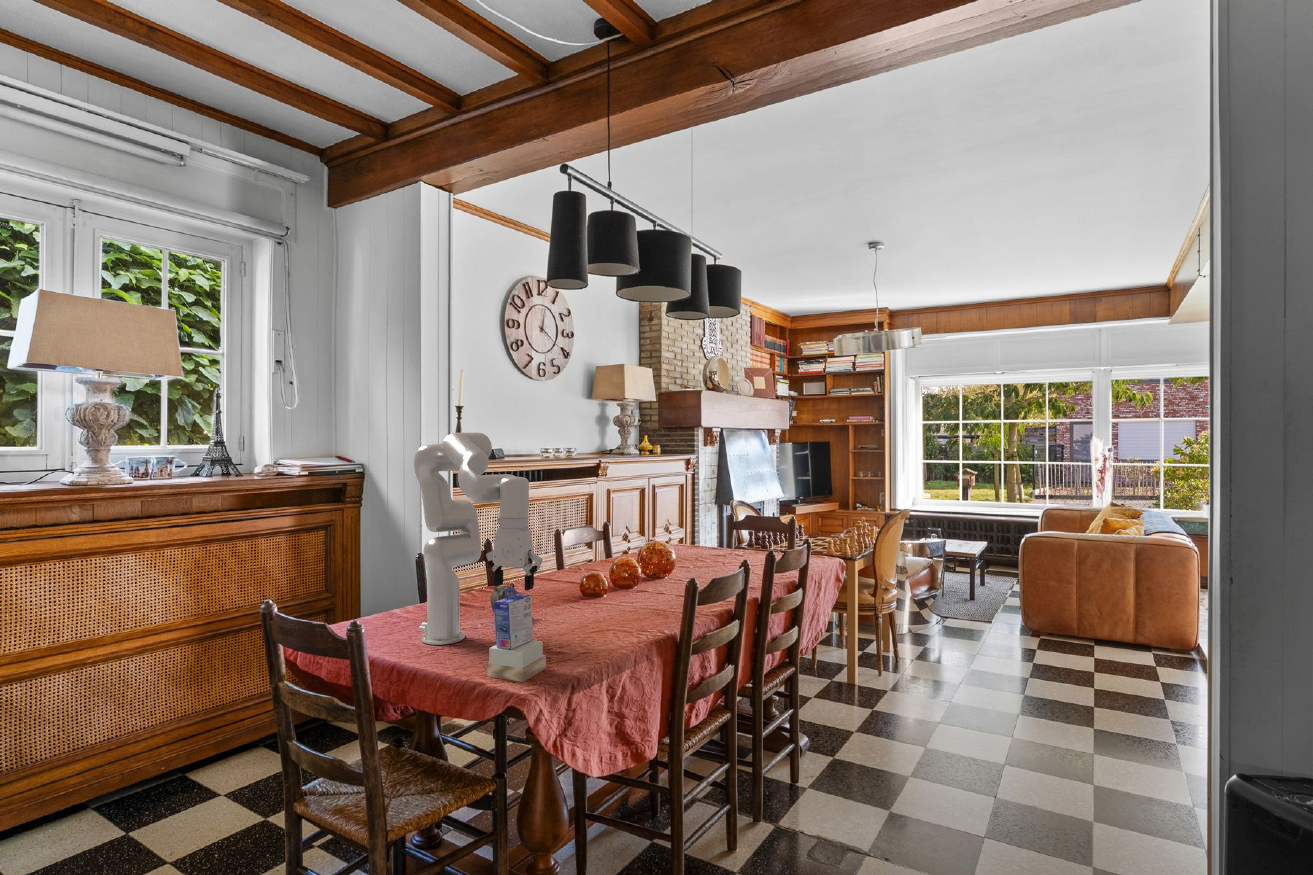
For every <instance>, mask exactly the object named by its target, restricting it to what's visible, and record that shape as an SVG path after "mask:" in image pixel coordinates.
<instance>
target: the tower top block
mask: <svg viewBox="0 0 1313 875" xmlns="http://www.w3.org/2000/svg"><path fill="white" fill-rule="evenodd" d="M543 644H544V642H543V641H540V640H534V639H533V640H531V641H528V642H526V643H524V644H522V645H519V646H517V647H515V648H513V649H504V648H497V646H496V644H495V645H493V646H491V647H489V648H488V649H489V650H488V651H489V654H488V662H489V663H490V664H497V665H504V666H511V667H518V668H524V667H525V666H527V665H529V664H530V663H532V662H534V661H536V660H537V659H539V658H541V657H543V655H544V653H543V651H544V650H543V649H544V648H543Z"/></svg>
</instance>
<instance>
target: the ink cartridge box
mask: <svg viewBox="0 0 1313 875" xmlns="http://www.w3.org/2000/svg"><path fill="white" fill-rule="evenodd" d="M509 591H512V592H513V593H512V594H509V595H508V594H507V592H509ZM504 593H505V595H506V597H507V598H504V599H501V600H499V601H496V602H494V612H493V613H494V623H495V624H494V625H495V627H494V628H495V645H496V646H497V648H504V649H513V648H515V647H517V646H519V645H522V644H524V643H526V642H528V641H531V640H534V630H533V629H534V628H533V611H532V595H531V594H524V593H523V594H522V593H519V594H515V592H514V590H513V588H509V589H506V590H504Z"/></svg>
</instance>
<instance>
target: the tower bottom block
mask: <svg viewBox="0 0 1313 875" xmlns="http://www.w3.org/2000/svg"><path fill="white" fill-rule="evenodd" d="M546 656H547V655H545V654H543V657H541V658H539V659H537V660H536V661H534V662H532V663H530V664H529V665H527V666H525V667H524V668H518V667H511V666H504V665H497V664H490V663H489V661H488V662H487V664H486V665H487V668H486V672H487V673H486V674H487V675H486V676H487V677H490V678H494V679H502V680H507V681H508V680H510V681H514V682H515V681H516V682H519V683H520V682H521V683H523V682H527V680H529V679H532V678H533V677H534V676H536V675H538V674H539V673H541V672H543V671H544V670H546V669H547V657H546Z"/></svg>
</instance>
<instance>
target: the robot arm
mask: <svg viewBox="0 0 1313 875" xmlns="http://www.w3.org/2000/svg"><path fill="white" fill-rule="evenodd" d="M492 446H493V445H492V441H491V439H490V438H489V437H488V435H486V434H485V433H482V432H452V433H451V434H448V435H446V437H444V438H443V440H442V442H441V443H433V444H426V445H422V446H420V447H419V448H418V449H417V450H416V452H415V454H414V459H413V467H414V473H415V475H416V476H415V477H416V479H417V481H418V483H419V486H420V489H421V490H420V491H421V498H422V505H423V506H422V507H423V515H424V522H425V526H426V529H428V531H429V532H432V533H444V532H453V531H454V532H456V531H458V532H459V534H450V535H441V536H435V537H433V538H431V539H429V540H428V541H427V542H425V544H424V547H423V558H424V563H425V570H426V592H427V593H426V598H427V600H426V601H427V602H426V608H427V609H426V610H427V611H426V615H427V617H426V618H427V619H426V620H427V621H426V622H425V621H424V622H422V623H421V624H420V625H419V627H418V631H424V634H423V635H422V637H421V642H422V643H424V644H427V645H433V646H440V645H441V646H442V645H449V644H450V645H451V644H456V643H458V642H460V641H463V640H464V639H465V636H466V633H465V631H463V630H460V628H461V627H460V626H461V624H460V621H461V620H460V617H461V616H460V615H461V614H460V611H461V610H460V609H461V608H460V601H461V600H460V599H461V598H460V592H461V591H460V579H459V577H458V575H457V574H456V573H455V571H454V570H453V567H458V566H463V565H471V564H474V563H476V562H478V561H479V560H480V558H481V555H482V542H481V533H480V526H479V519H478V511H477V510H476V506H475V505H474V504H473V503H476V504H488V503H489V504H490V503H499V517H498V518H496V523H498V524H499V527H498V528H497V529H496V532H495V536H494V544H493V550H491V551H489V552H487V553H486V554H485V556H486V559H487V561H488V565H489V566H490V568H491V571H492V572H493V587H494V586H495V587H497V588H498V587H501V586H502V585H504V570H503V568H504V567H505V568H513V569H523V571H524V572H525V575H524V591H530V590H533V589H534V586H535V574H536V573H537V571H538V570H540V568H541V565H542V564H543V560H544V559H543V558H542V557H541V556H539V555H538V554H536V553H535V552H534V544H533V543H534V542H533V537H532V536H533V535H532V531H531V528H529V524H530V523H529V521H530V519H529V518H530V517H529V515H530V514H529V512H530V511H529V510H530V504H529V502H530V498H529V496H530V483H529V482H530V481H529V479H527V478H526V477H524V476H523V477H522V476H515V475H513V474H510V473H509V474H508V473H507V474H506V473H505V474H504V473H503V474H485V475H483V474H484V473H485V472H486V470H487V469H488V467H489V464H490V460H489V458H490V456H491V454H492V451H493V450H492V449H493V448H492ZM455 471H456V472H457V480H458V486H459V489H460V490H461V492H462V494H464V495H465V496H466V498H468V499H469V500H467V499H455V500H453V499H452V494H451V486H450V484H449V483H448V481H447V479H446V478H445V477H444V476H443V475H442V474H441V473H440V472H455ZM533 562H534V565H533Z"/></svg>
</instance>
